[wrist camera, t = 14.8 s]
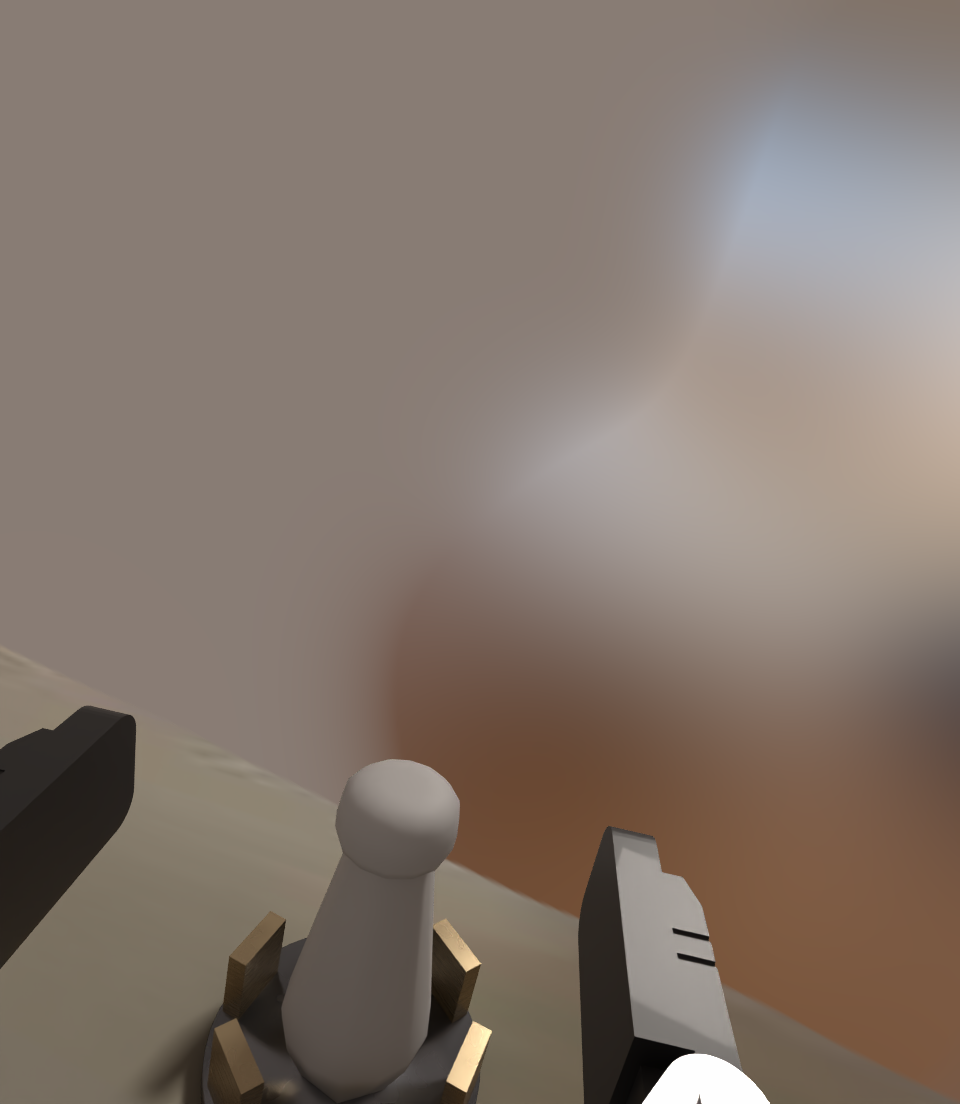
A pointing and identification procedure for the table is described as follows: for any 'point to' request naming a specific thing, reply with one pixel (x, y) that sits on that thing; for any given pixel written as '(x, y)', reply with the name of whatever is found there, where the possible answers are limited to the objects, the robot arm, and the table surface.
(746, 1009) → the table surface
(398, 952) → the salt shaker
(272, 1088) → the disc with wooden blocks
